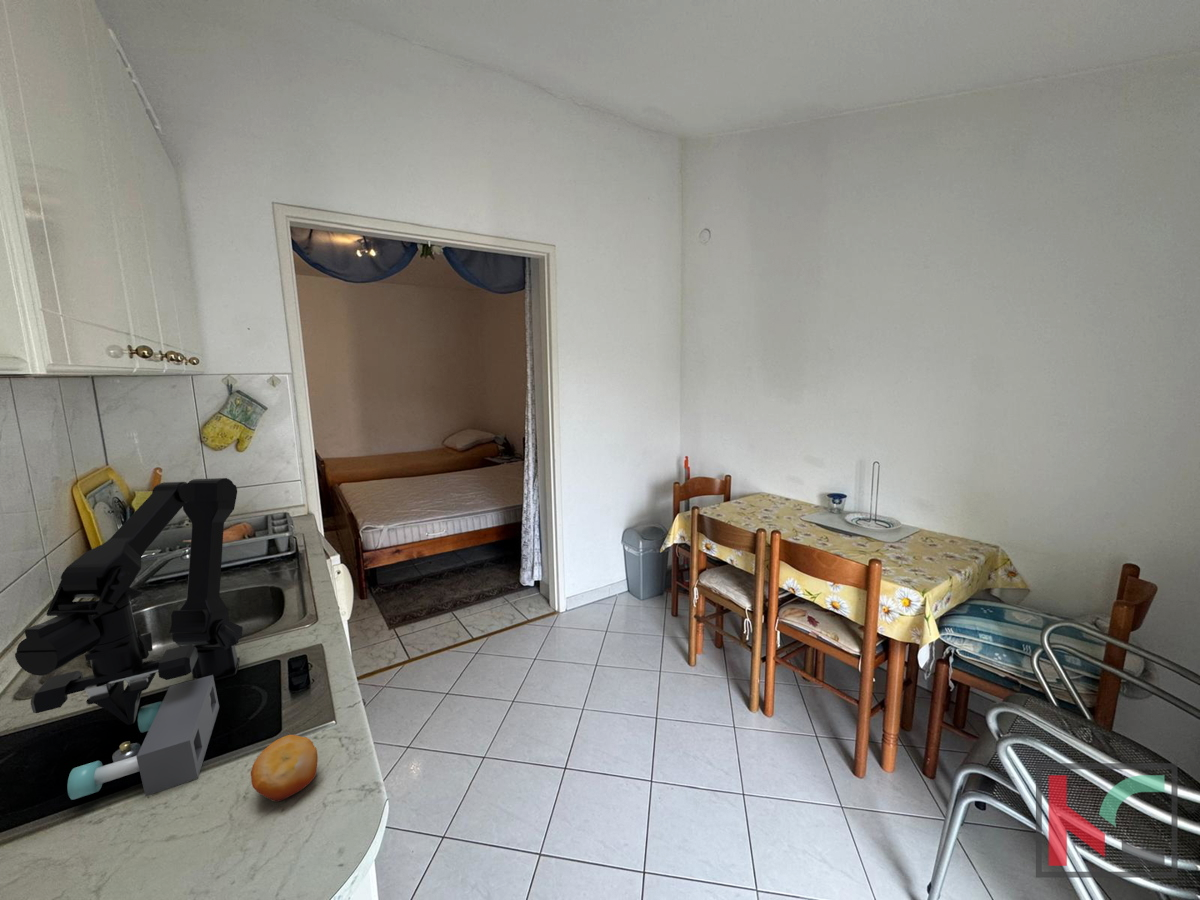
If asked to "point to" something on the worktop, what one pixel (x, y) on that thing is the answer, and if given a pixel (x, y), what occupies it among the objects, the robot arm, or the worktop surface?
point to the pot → (126, 751)
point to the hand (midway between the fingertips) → (131, 722)
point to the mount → (178, 735)
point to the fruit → (284, 767)
